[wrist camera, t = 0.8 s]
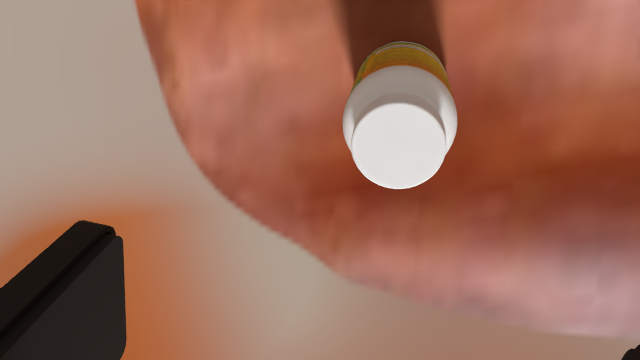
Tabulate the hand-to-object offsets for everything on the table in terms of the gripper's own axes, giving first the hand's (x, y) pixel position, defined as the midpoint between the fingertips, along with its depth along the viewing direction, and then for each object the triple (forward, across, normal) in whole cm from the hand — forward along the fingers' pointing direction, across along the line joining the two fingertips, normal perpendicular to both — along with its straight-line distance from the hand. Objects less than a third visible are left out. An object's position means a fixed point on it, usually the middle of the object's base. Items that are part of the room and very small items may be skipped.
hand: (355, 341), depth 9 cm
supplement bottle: (+22, -1, +1) cm, 22 cm away
